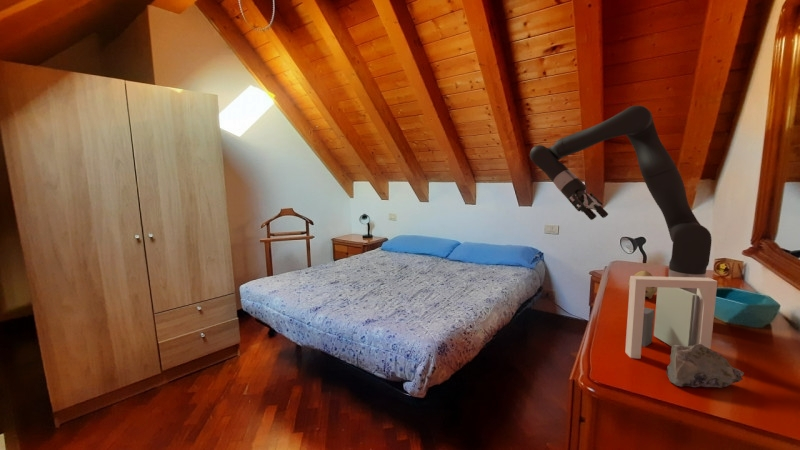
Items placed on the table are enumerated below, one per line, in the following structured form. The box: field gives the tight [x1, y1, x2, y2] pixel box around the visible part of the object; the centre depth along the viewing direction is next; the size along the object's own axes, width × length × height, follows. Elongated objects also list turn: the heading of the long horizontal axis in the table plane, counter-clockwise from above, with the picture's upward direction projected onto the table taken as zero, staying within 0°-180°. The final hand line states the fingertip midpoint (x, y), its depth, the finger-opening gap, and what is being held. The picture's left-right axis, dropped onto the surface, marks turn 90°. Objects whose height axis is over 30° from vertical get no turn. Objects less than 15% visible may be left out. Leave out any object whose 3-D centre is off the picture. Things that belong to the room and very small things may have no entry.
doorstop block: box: [641, 306, 655, 348], centre depth 97 cm, size 4×5×10 cm
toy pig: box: [628, 270, 657, 299], centre depth 133 cm, size 10×12×11 cm
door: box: [653, 287, 699, 348], centre depth 92 cm, size 13×3×17 cm, turn 0°
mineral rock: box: [666, 344, 745, 389], centre depth 76 cm, size 13×11×10 cm
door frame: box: [624, 275, 718, 359], centre depth 87 cm, size 18×3×22 cm, turn 80°
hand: (600, 217), depth 116 cm, fingers open, 8 cm apart
